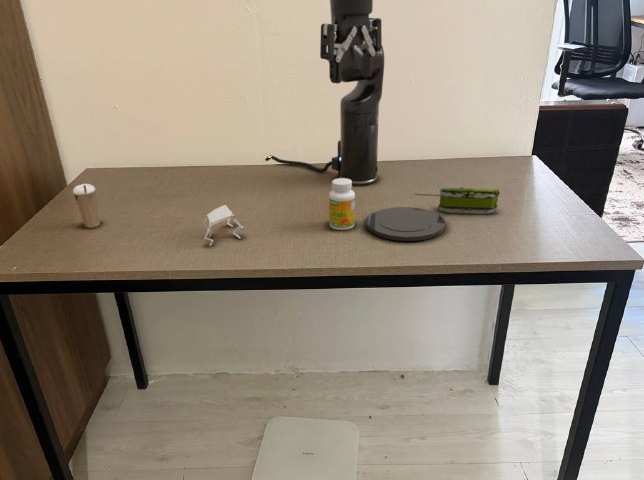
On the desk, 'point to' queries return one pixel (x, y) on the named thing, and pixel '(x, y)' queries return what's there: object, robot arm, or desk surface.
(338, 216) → the supplement bottle
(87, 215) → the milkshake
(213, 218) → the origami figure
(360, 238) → the desk surface
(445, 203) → the toy tank
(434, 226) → the plate
